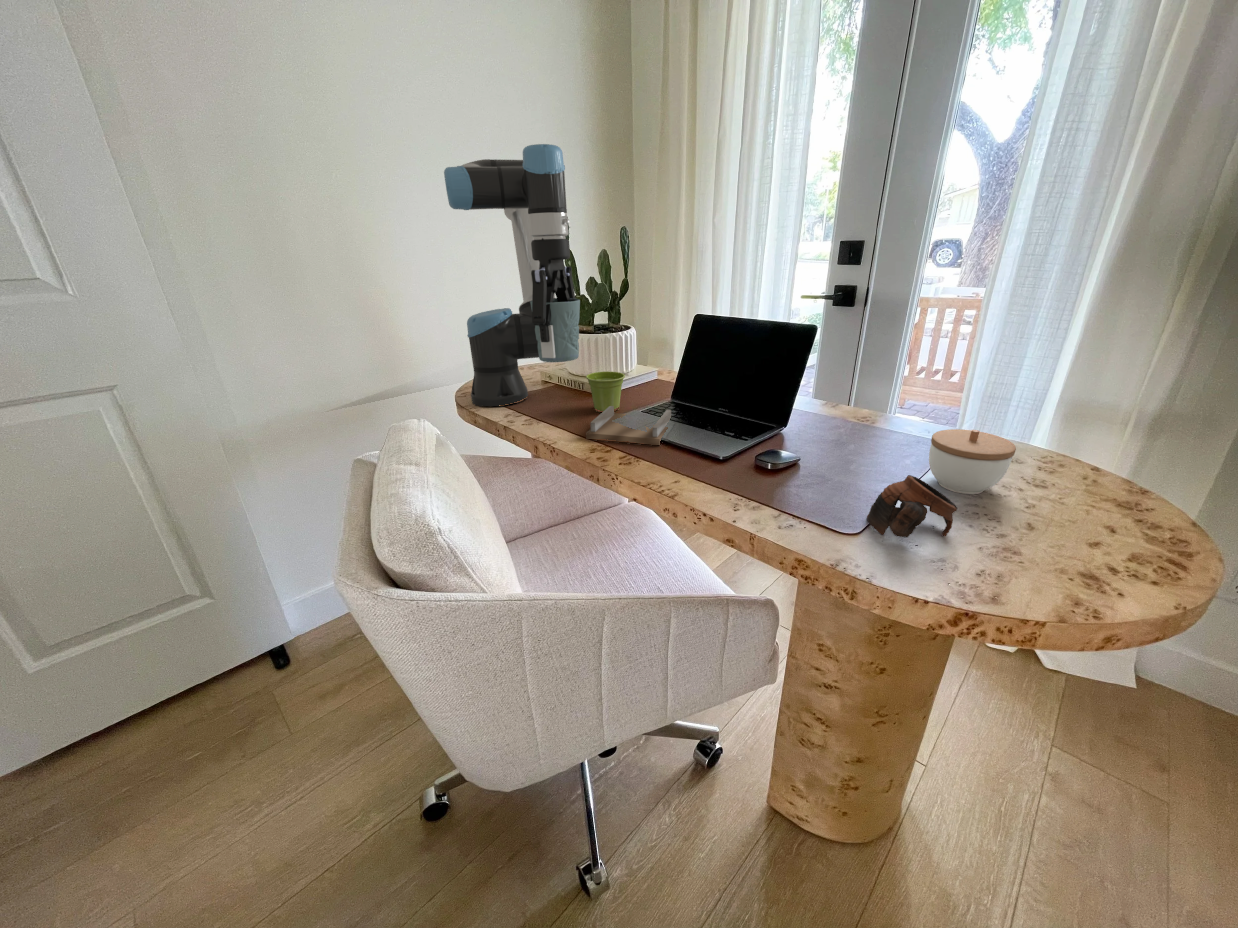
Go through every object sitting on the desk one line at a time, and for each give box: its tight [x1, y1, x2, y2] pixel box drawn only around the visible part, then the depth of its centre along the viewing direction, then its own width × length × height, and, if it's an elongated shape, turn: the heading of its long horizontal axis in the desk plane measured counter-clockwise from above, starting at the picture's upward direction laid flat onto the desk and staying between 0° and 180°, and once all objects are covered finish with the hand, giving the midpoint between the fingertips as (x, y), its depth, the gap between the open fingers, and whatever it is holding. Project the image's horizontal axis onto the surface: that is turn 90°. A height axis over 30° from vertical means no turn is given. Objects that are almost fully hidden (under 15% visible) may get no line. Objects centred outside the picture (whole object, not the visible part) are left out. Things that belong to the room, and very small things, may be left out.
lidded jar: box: [928, 428, 1017, 495], centre depth 77 cm, size 11×11×9 cm
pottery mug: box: [866, 474, 958, 538], centre depth 66 cm, size 12×10×8 cm
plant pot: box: [585, 370, 626, 411], centre depth 120 cm, size 9×9×9 cm
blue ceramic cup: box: [530, 297, 581, 363], centre depth 104 cm, size 10×10×12 cm
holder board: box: [585, 406, 672, 446], centre depth 106 cm, size 16×14×4 cm
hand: (559, 352), depth 105 cm, fingers closed on blue ceramic cup, 9 cm apart
